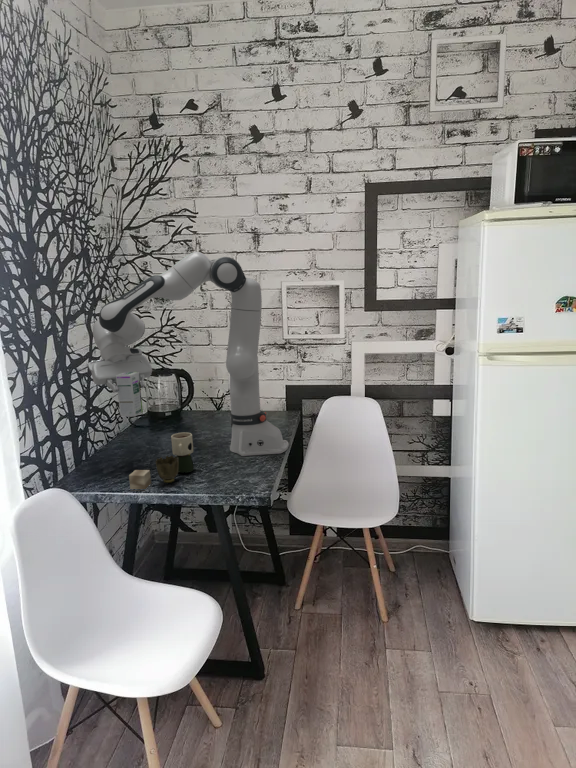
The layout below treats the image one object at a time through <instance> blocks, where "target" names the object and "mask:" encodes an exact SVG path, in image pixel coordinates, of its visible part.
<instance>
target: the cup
mask: <svg viewBox="0 0 576 768" xmlns="http://www.w3.org/2000/svg"><path fill="white" fill-rule="evenodd" d="M176 456H177V455H173V454H172V455H170V456H169V455H166V456H165V458H163V457H161V456H160V457H159V458H156V460H155V461H154V463H155V466H156V471H157V474H158V476H159V477H160V478H161V479H162V480H163V483H164V484H165V483H171V484H173V483H174V482H175V481H176V480H175V479H176V477H177V475H178V474H179V472H178V465H179V458H178V457H177V459H176ZM172 482H173V483H172Z"/></svg>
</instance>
